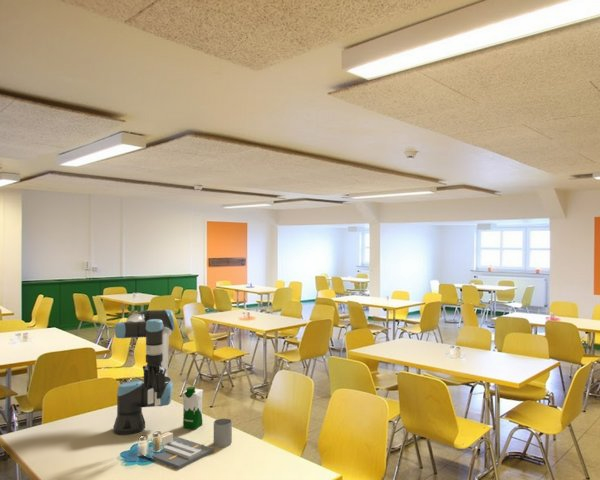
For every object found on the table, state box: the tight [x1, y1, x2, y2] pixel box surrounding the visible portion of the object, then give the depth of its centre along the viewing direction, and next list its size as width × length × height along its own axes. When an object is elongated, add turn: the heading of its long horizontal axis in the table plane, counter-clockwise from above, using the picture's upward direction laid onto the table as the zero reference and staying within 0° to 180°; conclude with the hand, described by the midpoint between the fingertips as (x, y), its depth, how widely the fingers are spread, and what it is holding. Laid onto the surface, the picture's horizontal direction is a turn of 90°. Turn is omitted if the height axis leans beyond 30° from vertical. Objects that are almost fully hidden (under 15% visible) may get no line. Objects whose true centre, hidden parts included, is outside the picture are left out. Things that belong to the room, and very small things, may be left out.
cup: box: [213, 418, 233, 448], centre depth 217 cm, size 8×8×10 cm
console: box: [152, 436, 215, 470], centre depth 206 cm, size 24×20×3 cm
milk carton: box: [182, 386, 204, 431], centre depth 238 cm, size 9×9×20 cm
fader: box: [160, 431, 174, 445], centre depth 210 cm, size 3×6×5 cm, turn 146°
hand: (154, 404), depth 215 cm, fingers open, 4 cm apart
